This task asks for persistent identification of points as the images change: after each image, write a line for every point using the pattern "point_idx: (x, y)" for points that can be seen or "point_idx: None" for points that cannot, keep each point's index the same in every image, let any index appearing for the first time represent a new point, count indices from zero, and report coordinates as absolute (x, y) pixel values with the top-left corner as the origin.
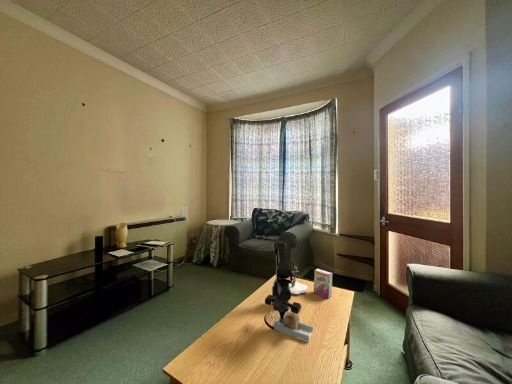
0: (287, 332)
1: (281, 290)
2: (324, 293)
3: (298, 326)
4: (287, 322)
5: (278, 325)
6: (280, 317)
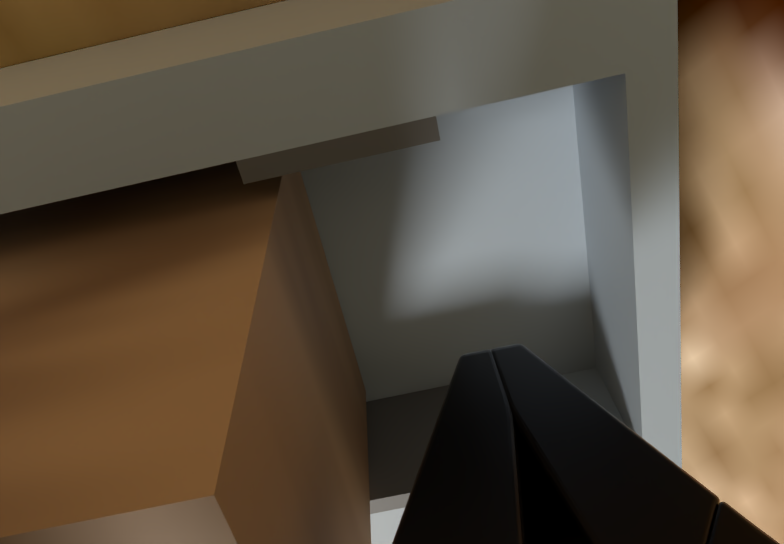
0: (76, 64)
1: None
2: None
3: None
4: (88, 318)
5: (456, 8)
6: None
